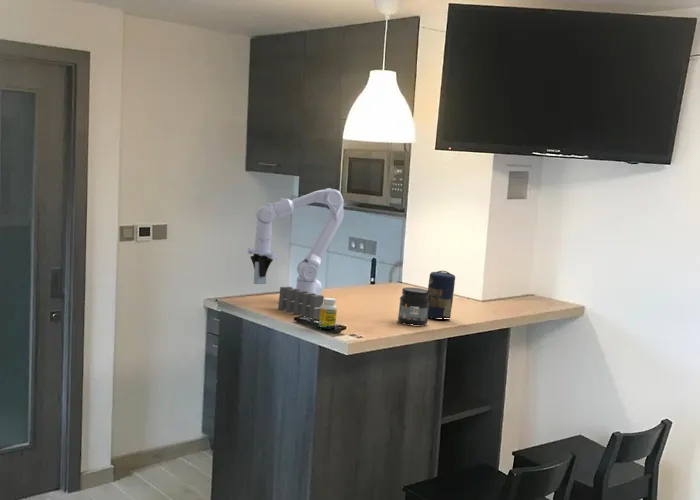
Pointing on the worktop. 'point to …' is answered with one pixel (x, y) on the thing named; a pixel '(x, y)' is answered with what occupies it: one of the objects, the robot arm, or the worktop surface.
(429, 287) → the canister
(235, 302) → the worktop surface
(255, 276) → the domino
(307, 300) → the domino
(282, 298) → the domino
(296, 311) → the domino
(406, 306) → the supplement container
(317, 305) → the domino
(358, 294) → the worktop surface
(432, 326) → the worktop surface
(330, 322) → the supplement bottle
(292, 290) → the domino
